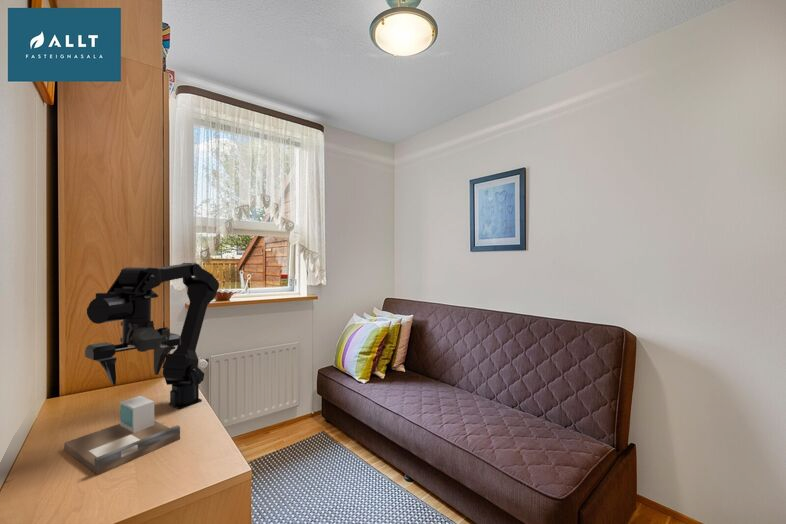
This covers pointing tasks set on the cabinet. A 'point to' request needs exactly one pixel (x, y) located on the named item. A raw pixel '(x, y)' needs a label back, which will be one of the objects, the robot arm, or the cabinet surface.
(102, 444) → the shelf board
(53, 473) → the cabinet surface
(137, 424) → the carton
